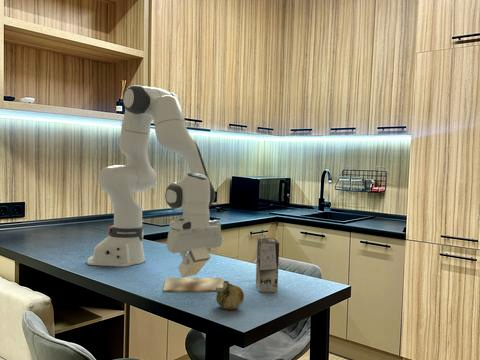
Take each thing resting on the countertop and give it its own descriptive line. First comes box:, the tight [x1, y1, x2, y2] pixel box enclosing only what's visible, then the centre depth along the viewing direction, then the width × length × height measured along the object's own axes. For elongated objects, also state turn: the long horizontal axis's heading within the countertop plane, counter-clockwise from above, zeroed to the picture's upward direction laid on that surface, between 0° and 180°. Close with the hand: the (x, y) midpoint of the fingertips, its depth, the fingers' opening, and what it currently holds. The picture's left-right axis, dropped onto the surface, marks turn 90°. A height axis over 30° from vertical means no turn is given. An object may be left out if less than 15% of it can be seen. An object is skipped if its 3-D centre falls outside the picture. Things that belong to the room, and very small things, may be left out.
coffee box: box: [255, 237, 280, 293], centre depth 143 cm, size 9×6×16 cm
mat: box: [162, 277, 225, 293], centre depth 144 cm, size 20×14×1 cm
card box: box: [177, 247, 211, 278], centre depth 144 cm, size 4×6×11 cm
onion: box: [215, 280, 245, 310], centre depth 123 cm, size 8×8×8 cm
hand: (195, 262), depth 144 cm, fingers closed on card box, 6 cm apart
